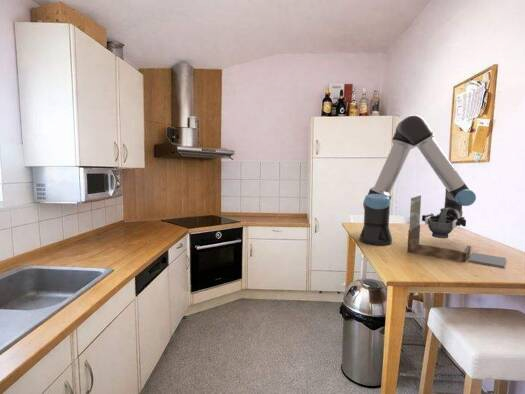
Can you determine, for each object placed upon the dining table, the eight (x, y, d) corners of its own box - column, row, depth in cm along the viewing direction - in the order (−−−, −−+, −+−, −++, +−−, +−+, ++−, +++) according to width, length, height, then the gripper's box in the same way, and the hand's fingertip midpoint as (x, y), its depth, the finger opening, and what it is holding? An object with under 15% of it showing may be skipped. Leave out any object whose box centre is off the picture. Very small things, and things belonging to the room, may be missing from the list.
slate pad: (468, 261, 117) (468, 259, 117) (472, 254, 127) (472, 252, 127) (504, 268, 110) (504, 266, 110) (505, 259, 120) (505, 257, 120)
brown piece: (407, 251, 131) (410, 198, 128) (416, 244, 142) (419, 195, 139) (465, 262, 117) (470, 202, 114) (470, 253, 128) (474, 198, 125)
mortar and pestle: (450, 240, 122) (453, 212, 120) (425, 237, 127) (427, 209, 126) (454, 235, 130) (457, 208, 129) (430, 232, 136) (432, 206, 135)
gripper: (476, 227, 135) (470, 236, 118) (422, 220, 149) (410, 227, 132) (478, 211, 134) (472, 217, 117) (423, 206, 148) (411, 211, 131)
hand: (439, 223), depth 125 cm, fingers closed on mortar and pestle, 9 cm apart
